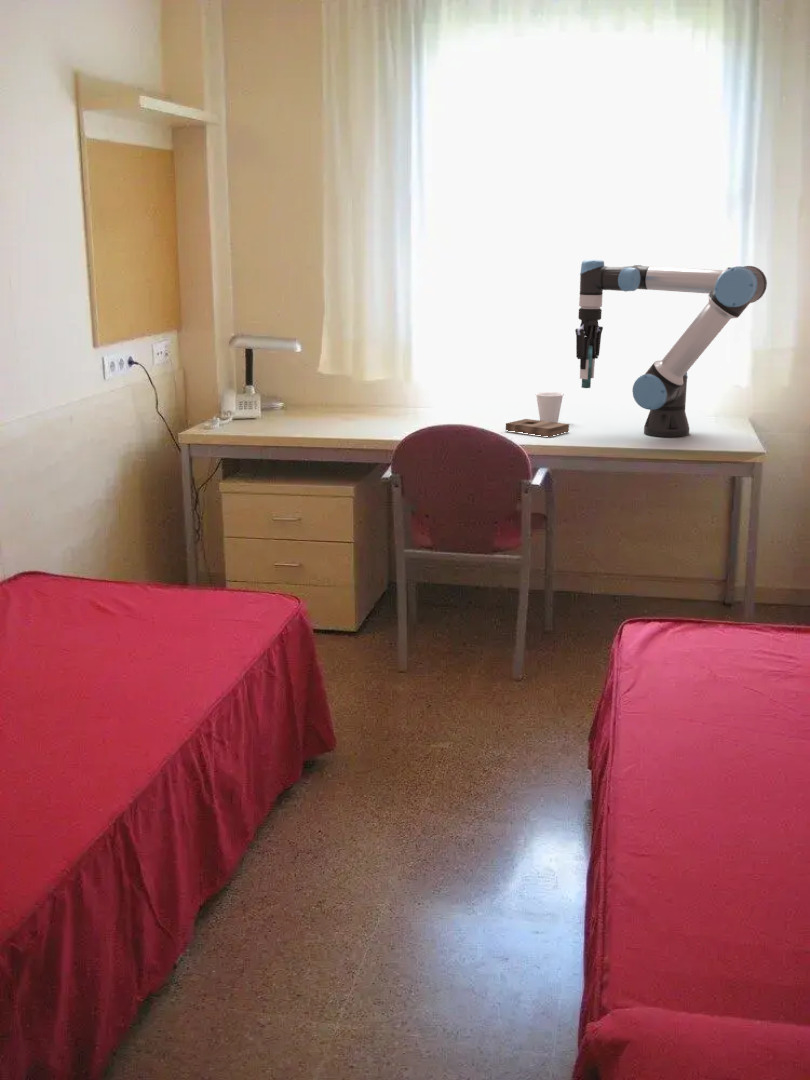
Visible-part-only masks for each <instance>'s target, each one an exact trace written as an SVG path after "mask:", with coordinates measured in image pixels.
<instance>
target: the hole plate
mask: <svg viewBox="0 0 810 1080" xmlns="http://www.w3.org/2000/svg"><path fill="white" fill-rule="evenodd" d="M506 430H508V431H515V432H523V433H528V434H535V435H541V436H548V437H550V436H553V435H557V434H561V433H564V432H568V431H569V432H570V424H569V423H563V422H558V423H556V422H547V421H540V419H538V420H537V419H530V418H524V419H520V420H515V421H510V422H506V423H505V431H506ZM548 437H547V438H548ZM550 438H551V437H550Z"/></svg>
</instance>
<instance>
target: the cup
mask: <svg viewBox="0 0 810 1080" xmlns="http://www.w3.org/2000/svg"><path fill="white" fill-rule="evenodd" d="M535 395H536V402H537V408H538V409H537V410H538V415H539V421H547V422H556V423H559V418H560V412H561V407H562V402H563V396H564V393H562V392H556V391H543V392H536V393H535Z"/></svg>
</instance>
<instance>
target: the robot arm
mask: <svg viewBox="0 0 810 1080" xmlns="http://www.w3.org/2000/svg"><path fill="white" fill-rule="evenodd" d="M579 276H580V278H579V298H578V299H579V300H578V301H579V302H578V304H579V305H578V306H579V307H580V308H579V309H578V318H577V319H578V320H580V321H581V322H580V327H579V328H575V330H574V331H575V336H576V337H575V339H576V341H575V342H576V343H575V344H576V345H575V346H576V347H575V348H576V350H575V351H576V358H577V359H578V360H579V361H580V362H579V363H580V364H579V369H580V370H579V379H580V380H582V379H588V364H589V360H587V357H588V349H589V345H590V346H593V348H592V367H591V379H594V377H595V365H596V364H595V361H596V359H599V356H600V352H601V351H600V349H601V339H602V332H603V330H604V329H603V328H604V327H603V326H601V325H599V321H600V320H602V308H601V307H602V306H603V292H604V291H618V292H619V291H621V292H625V293H626V292H634V291H637V290H645V291H646V290H652V291H663V292H664V291H665V292H679V293H693V294H694V293H696V294H708V295H707V296H708V303H707V304H706V305H704V307H703V309H702V310H701V311H700V313H699V314H698V315H697V316H696V318H695V319H694V320H693V321H692V322H691V324H689V326H688V328H686V330H685V331H684V332H683V334H682V335H681V336H680V337H679V338H678V340H677V341H675V343H674V345H673V346H672V347H671V349H669V351H668V352H667V353H666V354H665V356H664V357H663V358H662V360H655V361H654V362H653V364H651V366H650V367H649V368H648V370H647V371H646V372H645V373H644V374H641V375H639V377H637V378H636V380H635V381H634V383H633V385H632V397H633V399H634V401H635V402H636V404H637V405H638V406H639V407H640V408H642V409H645V410H649V413H648V415H647V418H646V421H645V423H644V427H643V433H644V434H645V435H647V436H652V437H658V438H659V437H660V438H679V437H686V436H688V435H690V425H689V420H688V417H687V413H686V402H687V387H688V386H687V383H688V371H689V369H691V367H692V366H693V365H694V363H696V362H697V360H698V359H699V358H700V357H701V355H702V354H703V353H704V352H705V351H706V349H707V348H708V347H709V346H710V344H711V343H712V342H713V341H714V340H715V338H716V337H717V336H718V335H719V333H720V332H721V331H722V330H723V329H724V328H725V327H726V325H727V324H728V323H729V322H730V320H731V319H738V318H739V317H740V316H741V314H743V312H744V311H745V309H747V308H748V306H749V305H750V304H752V303H753V304H754V303H756V302H757V301H759V300H760V299H761V298H763V295H765V293H766V290H767V287H768V280H767V277H766V275H765V273H764V272H763V271H762V270H761V269H760V268H759V267H756V266H753V265H744V266H732V267H726V269H724V270H722V269H706V268H705V269H704V268H703V269H702V268H701V269H700V268H687V267H686V268H685V267H666V266H646V265H645V266H644V265H641V264H640V265H639V264H638V265H637V264H636V265H635V264H634V265H630V266H605V261H604V260H601V259H584V260H582V261H581V265H580V273H579Z"/></svg>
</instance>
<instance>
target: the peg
mask: <svg viewBox="0 0 810 1080" xmlns="http://www.w3.org/2000/svg"><path fill="white" fill-rule="evenodd" d="M592 348H593V346H590V345H589V349H588V357H587V360H589V364H588V379H581V388H582V389H591V384H592V383H591V382H592V378H591V367H592Z"/></svg>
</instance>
